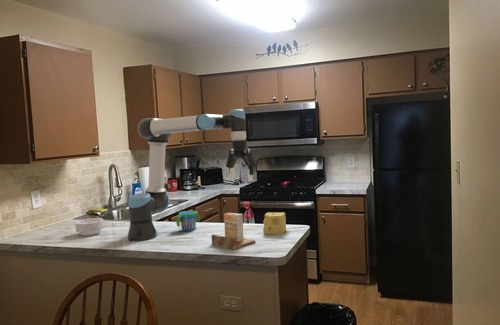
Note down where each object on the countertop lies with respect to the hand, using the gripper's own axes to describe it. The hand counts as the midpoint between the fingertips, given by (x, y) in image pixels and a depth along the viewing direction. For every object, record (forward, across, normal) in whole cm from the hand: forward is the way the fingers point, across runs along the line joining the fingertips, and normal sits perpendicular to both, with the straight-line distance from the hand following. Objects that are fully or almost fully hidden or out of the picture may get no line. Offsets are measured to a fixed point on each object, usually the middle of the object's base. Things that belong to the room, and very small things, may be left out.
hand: (241, 180), depth 206 cm
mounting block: (+29, -7, +14) cm, 33 cm away
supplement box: (+27, -7, +14) cm, 31 cm away
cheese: (+29, -9, -14) cm, 33 cm away
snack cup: (+29, +37, +9) cm, 48 cm away
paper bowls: (+29, +80, +48) cm, 98 cm away
